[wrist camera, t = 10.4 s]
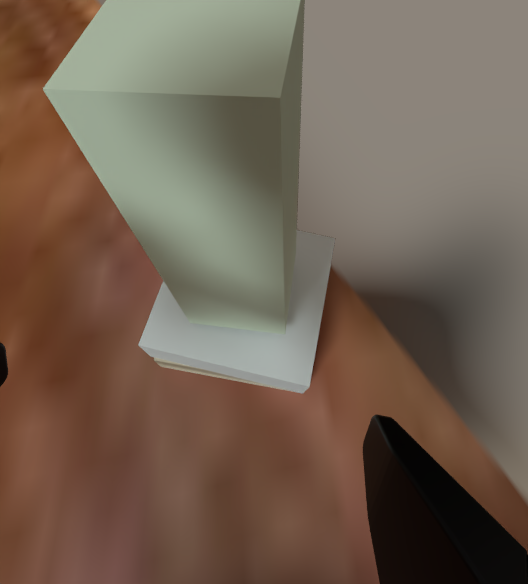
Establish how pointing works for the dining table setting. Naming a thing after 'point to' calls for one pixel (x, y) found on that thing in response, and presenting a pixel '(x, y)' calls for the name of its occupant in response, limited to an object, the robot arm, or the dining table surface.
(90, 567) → the dining table surface
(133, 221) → the pillar
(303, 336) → the top slab
